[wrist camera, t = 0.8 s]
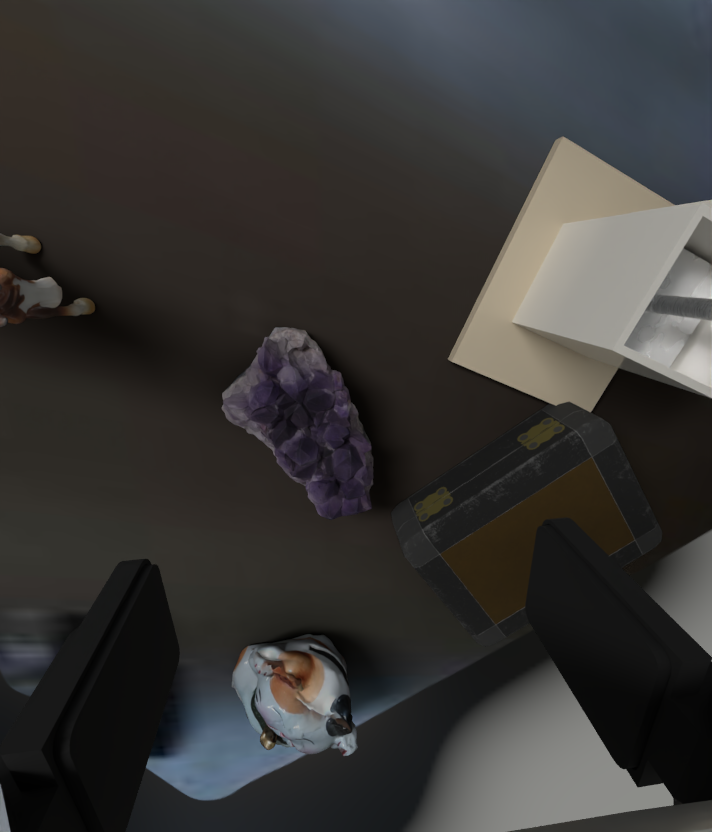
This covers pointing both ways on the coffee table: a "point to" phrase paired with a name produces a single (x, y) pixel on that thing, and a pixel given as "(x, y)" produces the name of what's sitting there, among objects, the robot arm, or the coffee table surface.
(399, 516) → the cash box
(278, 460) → the geode
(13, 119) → the coffee table surface
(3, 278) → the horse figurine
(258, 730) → the lucky cat figurine
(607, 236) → the square white mug
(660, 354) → the plunger
